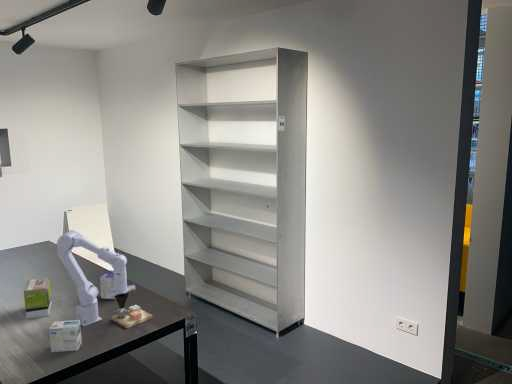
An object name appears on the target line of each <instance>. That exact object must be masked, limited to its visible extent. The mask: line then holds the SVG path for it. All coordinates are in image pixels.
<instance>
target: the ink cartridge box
mask: <svg viewBox="0 0 512 384" xmlns="http://www.w3.org/2000/svg"><path fill="white" fill-rule="evenodd" d="M99 280H100V299H105V300H107V299H108V298H106V294H107V293H109V292H111V291H113V290H115V289H114V270H108V272H107V273H104V274H102V275H101V276H100V277H99ZM109 300H116V298H115V297H114V296H113V297H110V298H109Z"/></svg>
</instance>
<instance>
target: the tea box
mask: <svg viewBox="0 0 512 384" xmlns="http://www.w3.org/2000/svg"><path fill="white" fill-rule="evenodd" d="M24 287H25V288H24V289H23V297H24V306H25V319H27V320H28V319H35V318H36V319H37V318H42V317H44V318H45V317H49V316H50V315H49V314H50V312H51V308H52V307H51V306H52V296H51V295H52V293H51V283H50V277H43V278H42V277H41V278H34V279H28V280H27V282H26V285H25V286H24Z"/></svg>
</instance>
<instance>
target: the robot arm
mask: <svg viewBox="0 0 512 384" xmlns="http://www.w3.org/2000/svg"><path fill="white" fill-rule="evenodd" d="M56 246H57V256H58V258H59V260H60V261H61V263H62V264H63V266H64V268H65V270H66V272H67V273H68V274H69V276H70V278H71V279H72V281H73V283H74V284H75V287H76V289H77V290H76V292H77V293H76V294H77V296H78V301H79V302H80V304H79V305H77V306H76V307H75V320H80V326H82V327H86V326H89V325H91V324H94V323H97V322H99V321H102V320H103V318H102V317H100V316H99V307H98V306H99V303H98V298H97V296H98V295H99V293H100V292H99V289H98V287H96V286H95V285H94V284H93V282H91V281H89V280H88V279H87V277H86V276H85V273H84V272H83V270H82V268H81V266H79V264H78V262H77V260H76V258H75V257H74V254H72V251H73V249H74V248H80V247H82V248H84V249H86V250H88V251H90V252H92V253H93V254H96V255H97V258H98V259H99V260H101V261H103V262H105V263H107V264H109V265H110V266H111V268H112V269H113V271H114V289H115V290H113V291H111V292H109V293H107V294H106V298H108V299H109V298H110V297H113V296H114V297H115V298H116V299H115V300H116V302H117V305H118V307H119V308H118V309H123V308H125V306H126V302H127V299H128V297H129V293H128V292H132V291H135V290H136V285H134V284H132V285H128V281H127V280H128V279H127V277H128V276H127V263H128V259H127V256H126V255H124V254H122V253H118V252H115V251H113V250H111V248H110V247H104V246H103V247H101V246H99V245H98V244H96V243H94V242H93V241H92V240H90V239H88V238H87V237H85V236H84V235H83V234H81V233H80V232H77V231H76V230H67V232H66V233H64V234H63V235H60V236H59V238H58V239H57V241H56ZM109 300H110V299H109Z"/></svg>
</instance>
